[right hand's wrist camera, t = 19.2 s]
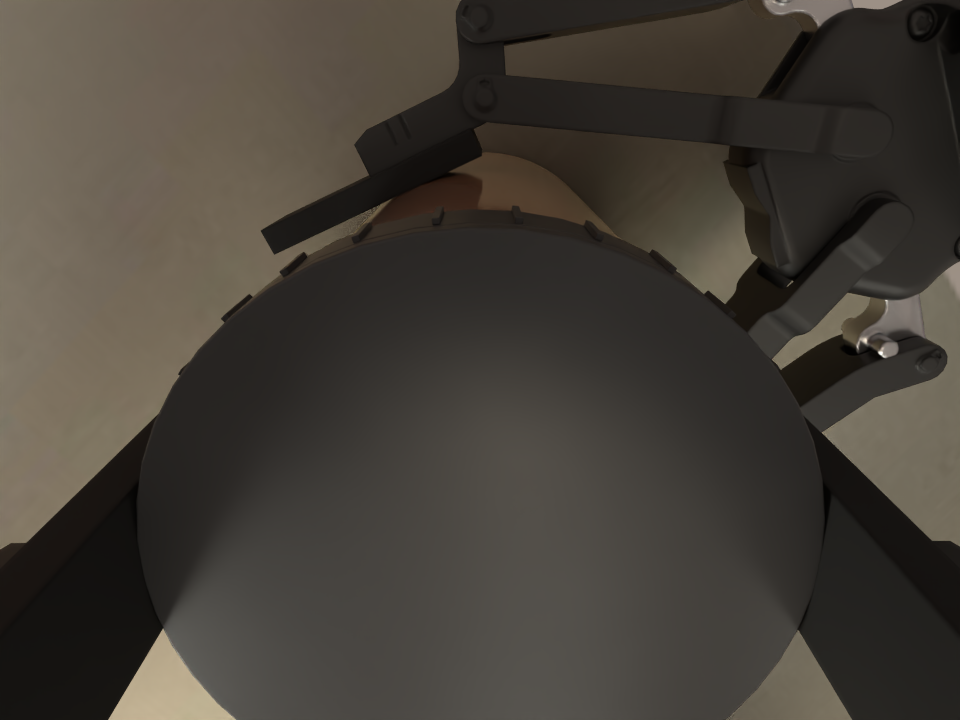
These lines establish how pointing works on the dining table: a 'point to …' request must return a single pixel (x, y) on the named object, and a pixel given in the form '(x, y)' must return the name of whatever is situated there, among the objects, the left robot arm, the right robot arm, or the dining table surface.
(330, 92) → the dining table surface
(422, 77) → the dining table surface
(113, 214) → the dining table surface
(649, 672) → the lid
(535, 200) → the jar
